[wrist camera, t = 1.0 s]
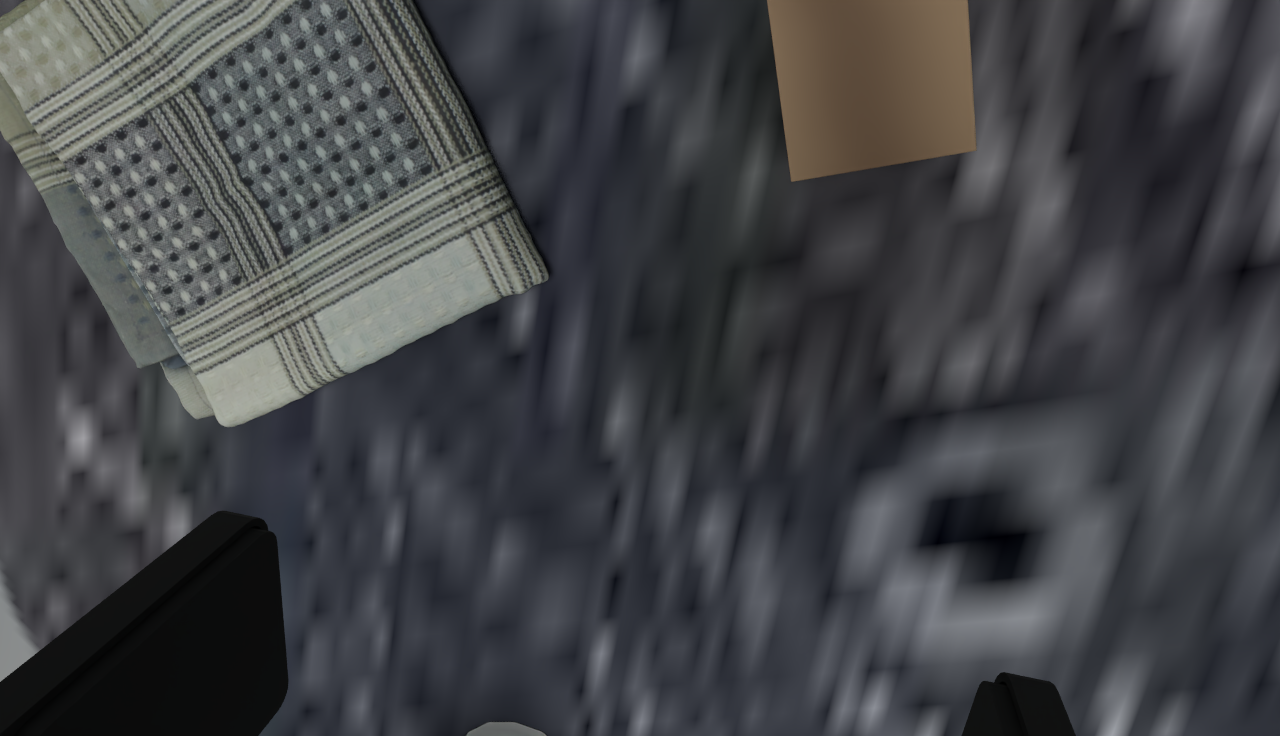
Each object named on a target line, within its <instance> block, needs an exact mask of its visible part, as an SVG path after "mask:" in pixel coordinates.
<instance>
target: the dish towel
mask: <svg viewBox="0 0 1280 736" xmlns="http://www.w3.org/2000/svg"><path fill="white" fill-rule="evenodd" d="M0 131H1V133H2V135H3V137H4V138H5V140H6V141H7V142H8V143H9V144H10V145H11V146H12V147H13V149H14V151H15V153H16V154H17V156H18V158H19V159H20V162H21V164H22V165H23V167H24V168H25V170H26V171H27V173H28V174H29V175H30V177H31V178H32V180H33V182H34V184H35V185H36V187H37V189H38V190H39V192H40V194H41V195H42V197H43V199H44V201H45V203H46V205H47V207H48V210H49V212H50V214H51V216H52V219H53V221H54V223H55V224H56V226H57V227H58V229H59V231H60V233H61V235H62V237H63V240H64V242H65V245H66V247H67V248H68V250H69V251H70V252H71V253H72V254H73V255H74V257H75V258H76V260H77V262H78V264H79V265H80V267H81V269H82V270H83V272H84V273H85V275H86V276H87V278H88V280H89V282H90V284H91V285H92V287H93V289H94V290H95V292H96V293H97V295H98V297H99V298H100V300H101V302H102V304H103V306H104V307H105V309H106V311H107V313H108V315H109V317H110V319H111V321H112V323H113V325H114V326H115V328H116V330H117V332H118V334H119V336H120V338H121V340H122V342H123V343H124V345H125V347H126V349H127V351H128V352H129V354H130V356H131V357H132V358H133V360H134V361H135V362H136V365H137V367H138V368H143V367H145V366H148V365H152V364H154V363H157V362H160V364H161V366H162V368H163V370H164V373H165V376H166V378H167V380H168V381H169V383H170V384H171V385H172V386H173V387H174V389H175V390H176V392H177V393H178V395H179V397H180V400H181V403H182V405H183V406H184V408H185V409H186V410H187V411H188V412H189V413H190V414H191V415H192V416H193V417H194V418H195V419H200V418H204V417H209V416H212V415H215V416H216V418H217V420H218V422H219V423H220V424H221V425H223V426H225V427H234V426H236V425H239V424H243V423H246V422H247V421H249V420H251V419H254V418H256V417H259V416H262V415H264V414H267V413H269V412H271V411H273V410H275V409H278V408H281V407H283V406H284V405H286V404H288V403H290V402H292V401H294V400H297V399H300V398H302V397H304V396H306V395H307V394H309V393H311V392H313V391H314V390H316V389H318V388H320V387H322V386H323V385H325V384H327V383H329V382H331V381H334V380H336V379H338V378H340V377H342V376H344V375H347V374H349V373H352V372H355V371H357V370H358V369H360V368H362V367H364V366H366V365H368V364H372V363H375V362H376V361H378V360H379V359H381V358H383V357H385V356H387V355H390V354H392V353H394V352H395V351H396V350H398V349H399V348H401V347H403V346H404V345H407V344H409V343H412V342H414V341H416V340H417V339H419V338H421V337H423V336H425V335H428V334H431V333H433V332H434V331H436V330H437V329H439V328H441V327H443V326H445V325H448V324H451V323H454V322H455V321H456V320H458V319H459V318H461V317H463V316H465V315H467V314H470V313H473V312H475V311H477V310H478V309H480V308H482V307H484V306H485V305H487V304H491V303H495V302H496V301H498V300H499V299H501V298H503V297H505V296H508V295H515V294H523V293H525V292H527V291H528V290H529V289H530V288H531V287H532V286H534V285H536V284H540V283H543V282H545V281H547V280H548V278H549V274H548V271H547V268H546V266H545V264H544V262H543V259H542V257H541V255H540V254H539V253H538V251H537V249H536V247H535V245H534V243H533V241H532V238H531V235H530V234H529V232H528V231H527V229H526V228H525V225H524V223H523V221H522V219H521V217H520V214H519V212H518V210H517V208H516V207H515V205H514V203H513V201H512V199H511V197H510V195H509V193H508V191H507V189H506V187H505V184H504V182H503V181H502V179H501V177H500V175H499V172H498V170H497V168H496V166H495V164H494V161H493V159H492V156H491V154H490V152H489V151H488V149H487V147H486V145H485V142H484V139H483V137H482V135H481V134H480V132H479V130H478V128H477V126H476V123H475V121H474V119H473V115H472V113H471V111H470V110H469V108H468V106H467V104H466V102H465V100H464V99H463V97H462V94H461V92H460V90H459V88H458V87H457V85H456V84H455V82H454V80H453V79H452V77H451V75H450V73H449V71H448V69H447V66H446V63H445V61H444V59H443V58H442V56H441V55H440V53H439V51H438V49H437V47H436V46H435V44H434V41H433V38H432V36H431V34H430V32H429V31H428V29H427V28H426V26H425V24H424V22H423V20H422V18H421V16H420V13H419V10H418V8H417V6H416V5H415V3H414V2H413V0H25V1H23V2H22V3H21V4H19V5H18V6H17V7H16V8H14V9H13V10H12V11H11V12H9V13H7V14H4V15H3V16H2V17H0Z"/></svg>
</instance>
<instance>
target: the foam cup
mask: <svg viewBox="0 0 1280 736" xmlns="http://www.w3.org/2000/svg"><path fill="white" fill-rule="evenodd" d="M466 736H546V735H545V734H544V733H543V732H541V731H538V730H536V729H533V728H530V727H527V726H524V725H522V724H519V723H516V722H488V723H486V724H484V725H482V726H480V727H478V728H476V729H474V730H472V731H470V732H468V734H467V735H466Z"/></svg>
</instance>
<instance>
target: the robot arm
mask: <svg viewBox="0 0 1280 736" xmlns="http://www.w3.org/2000/svg"><path fill="white" fill-rule="evenodd" d="M287 689H288V670H287V657H286V645H285V633H284V620H283V608H282V596H281V583H280V571H279V559H278V546H277V539H276V536H275V534H274V533H273V532H270V531H268V526H267V524H266V523H265V521H264V520H262V519H260V518H257V517H252V516H247V515H242V514H237V513H233V512H228V511H218V512H216V513H215V514H213V515H211V516H210V517H209V518H207V519H206V520H205V521H204V522H202V523H201V524H200V525H198V526H197V527H196V528H195V529H193V530H192V531H191V532H190V533H188V534H187V535H186V536H185V537H183V538H182V539H181V540H179V541H178V542H177V543H176V544H174V545H173V546H172V547H171V548H169V549H168V550H167V551H166V552H164V553H163V554H162V555H160V556H159V557H158V558H157V559H155V560H154V561H153V562H152V563H150V564H149V565H148V566H147V567H145V568H144V569H143V570H141V571H140V572H139V573H138V574H136V575H135V576H134V577H133V578H131V579H130V580H129V581H128V582H126V583H125V584H124V585H122V586H121V587H120V588H119V589H117V590H116V591H115V592H114V593H112V594H111V595H110V596H109V597H107V598H106V599H105V600H103V601H102V602H101V603H100V604H98V605H97V606H96V607H95V608H93V609H92V610H91V611H90V612H88V613H87V614H86V615H84V616H83V617H82V618H81V619H79V620H78V621H77V622H76V623H74V624H73V625H72V626H71V627H69V628H68V629H67V630H65V631H64V632H63V633H62V634H60V635H59V636H58V637H57V638H55V639H54V640H53V641H52V642H50V643H49V644H48V645H46V646H45V647H44V648H43V649H41V650H40V651H39V652H38V653H36V654H35V655H34V656H33V657H31V658H30V659H29V660H27V661H26V662H25V663H24V664H22V665H21V666H20V667H19V668H17V669H16V670H15V671H14V672H13V673H11V674H10V675H9V676H7V677H6V678H5V679H3V680H2V681H1V682H0V736H258V735H259V734H260V733H261V732H262V730H263V729H264V728H265V727H266V725H267V724H268V723H269V722H270V720H271V719H272V718H273V716H274V715H275V714H276V713H277V711H278V710H279V708H280V707H281V705H282V703H283V701H284V699H285V696H286V693H287ZM962 736H1076V735H1075V733H1074V730H1073V728H1072V725H1071V723H1070V720H1069V717H1068V715H1067V712H1066V710H1065V707H1064V705H1063V702H1062V700H1061V697H1060V695H1059V692H1058V690H1057V689H1056V687H1055V685H1054V684H1052V683H1051V682H1049V681H1044V680H1039V679H1034V678H1029V677H1025V676H1020V675H1015V674H1010V673H1005V672H1003V673H1000V674H999V675H998V676H997V678H996V680H995V682H994V683H993V682H988V681H983V682H982V683H981V684H980V685H979V688H978V690H977V693H976V696H975V699H974V702H973V704H972V707H971V710H970V713H969V716H968V719H967V722H966V725H965V728H964V731H963V733H962Z"/></svg>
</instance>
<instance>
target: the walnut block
mask: <svg viewBox="0 0 1280 736" xmlns="http://www.w3.org/2000/svg"><path fill="white" fill-rule="evenodd" d="M767 3H768V10H769V18H770V25H771V33H772V40H773V48H774V55H775V63H776V71H777V78H778V86H779V93H780V101H781V108H782V116H783V123H784V131H785V138H786V146H787V153H788V161H789V168H790V176H791V182H794V181H800V180H806V179H812V178H817V177H823V176H829V175H835V174H841V173H847V172H853V171H859V170H865V169H871V168H876V167H882V166H888V165H894V164H900V163H906V162H912V161H918V160H924V159H929V158H935V157H941V156H947V155H953V154H959V153H965V152H971V151H977V150H976V133H975V116H974V99H973V82H972V65H971V48H970V31H969V14H968V0H767Z"/></svg>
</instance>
